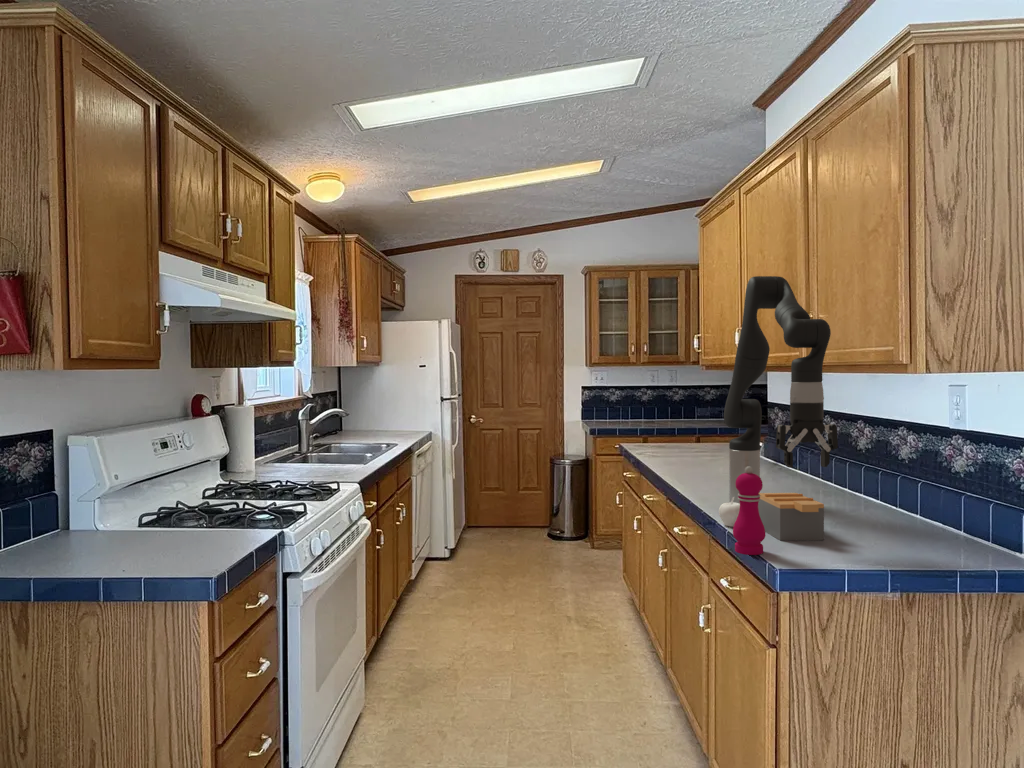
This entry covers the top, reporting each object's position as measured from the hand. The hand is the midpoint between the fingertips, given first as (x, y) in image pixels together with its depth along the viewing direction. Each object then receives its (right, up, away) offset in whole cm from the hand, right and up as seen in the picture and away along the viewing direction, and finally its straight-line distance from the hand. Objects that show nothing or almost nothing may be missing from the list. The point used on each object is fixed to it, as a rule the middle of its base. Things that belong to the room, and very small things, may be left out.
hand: (806, 466), depth 168 cm
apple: (-12, -19, +20) cm, 30 cm away
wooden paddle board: (0, -11, +8) cm, 14 cm away
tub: (0, -19, +11) cm, 21 cm away
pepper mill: (-17, -19, -8) cm, 26 cm away
